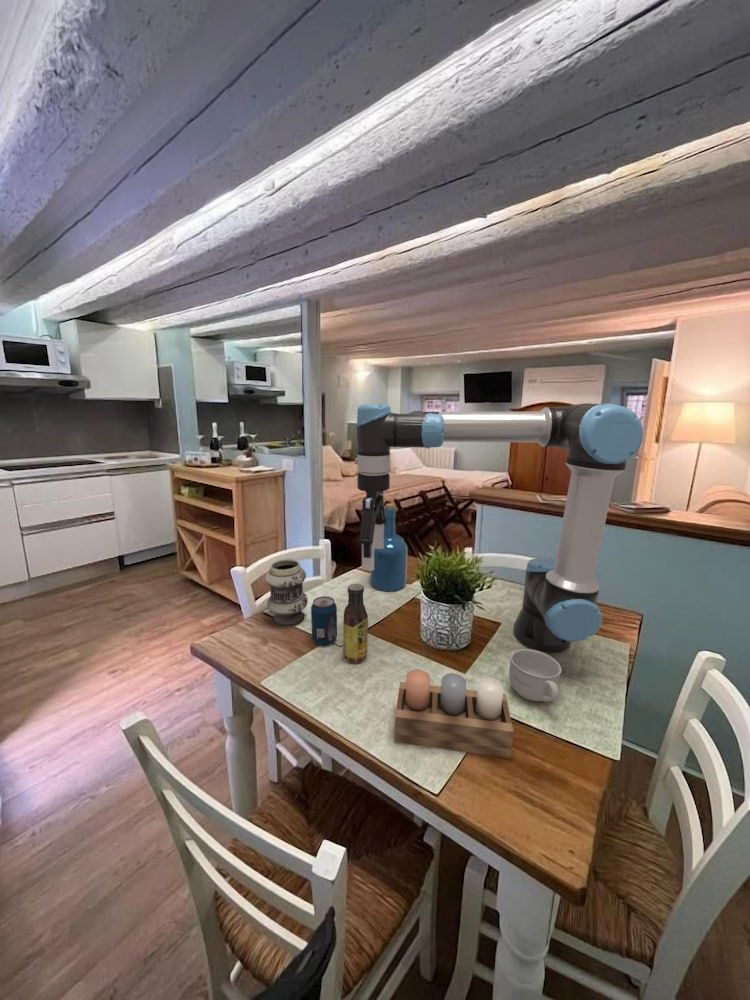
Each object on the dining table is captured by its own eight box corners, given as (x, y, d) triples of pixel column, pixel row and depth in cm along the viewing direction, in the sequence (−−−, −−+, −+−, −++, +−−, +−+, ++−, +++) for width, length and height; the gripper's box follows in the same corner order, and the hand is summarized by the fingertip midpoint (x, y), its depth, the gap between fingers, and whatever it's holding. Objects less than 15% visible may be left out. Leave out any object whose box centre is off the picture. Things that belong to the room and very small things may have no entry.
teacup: (502, 675, 99) (504, 646, 97) (546, 676, 99) (550, 647, 97) (519, 719, 86) (523, 686, 84) (571, 720, 86) (576, 688, 84)
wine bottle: (394, 596, 138) (396, 511, 131) (362, 586, 145) (362, 505, 138) (413, 581, 149) (416, 502, 142) (382, 573, 156) (384, 497, 149)
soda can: (317, 632, 117) (315, 594, 114) (340, 635, 116) (339, 596, 113) (308, 646, 110) (306, 606, 107) (332, 649, 109) (332, 609, 106)
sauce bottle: (361, 667, 102) (361, 595, 97) (339, 662, 104) (338, 591, 99) (371, 652, 108) (371, 584, 103) (349, 647, 110) (349, 580, 105)
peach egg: (429, 695, 85) (430, 670, 83) (428, 713, 80) (430, 686, 79) (406, 693, 85) (407, 668, 84) (404, 709, 81) (405, 684, 79)
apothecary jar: (280, 606, 131) (277, 554, 127) (314, 612, 128) (313, 558, 123) (260, 626, 120) (256, 569, 115) (297, 632, 117) (295, 574, 112)
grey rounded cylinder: (463, 699, 84) (465, 674, 82) (465, 717, 79) (467, 691, 77) (440, 697, 84) (441, 672, 83) (440, 714, 80) (441, 688, 78)
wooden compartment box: (503, 718, 86) (505, 694, 85) (510, 758, 76) (513, 731, 75) (399, 705, 89) (400, 681, 88) (394, 742, 80) (395, 716, 78)
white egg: (499, 704, 82) (501, 678, 81) (502, 722, 78) (505, 695, 76) (474, 701, 83) (476, 675, 82) (476, 719, 79) (478, 692, 77)
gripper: (368, 463, 107) (368, 540, 112) (344, 482, 83) (345, 578, 88) (396, 464, 105) (395, 541, 111) (380, 484, 82) (380, 581, 87)
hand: (373, 558), depth 99 cm, fingers open, 13 cm apart
